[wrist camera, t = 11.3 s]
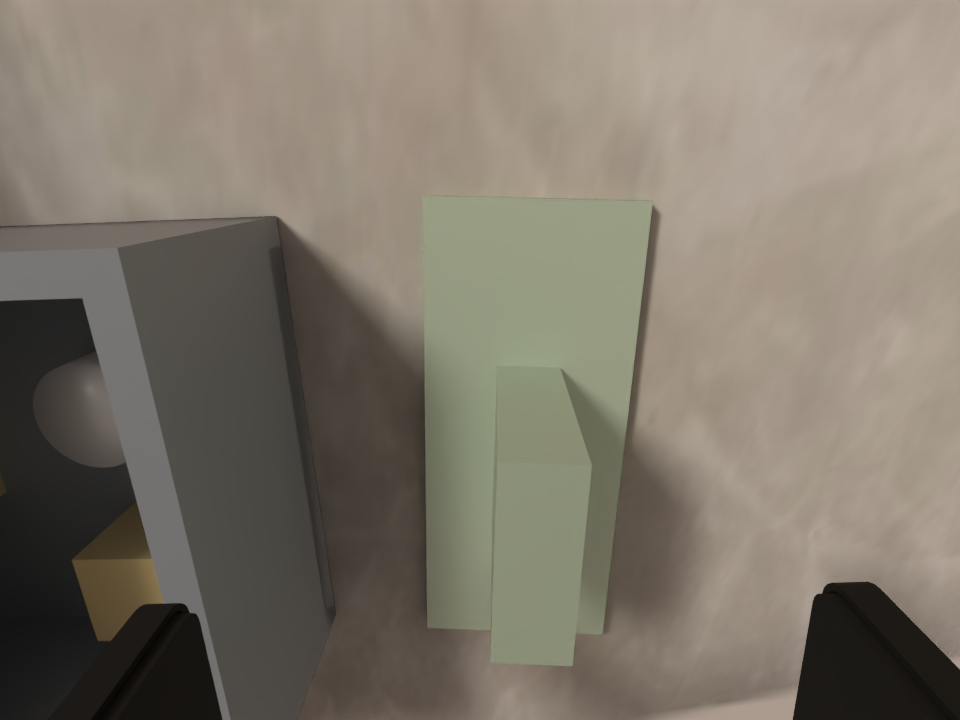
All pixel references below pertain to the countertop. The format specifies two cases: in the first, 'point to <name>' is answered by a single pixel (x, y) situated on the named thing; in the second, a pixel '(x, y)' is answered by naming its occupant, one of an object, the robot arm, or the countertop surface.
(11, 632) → the grey flat box
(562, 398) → the end lid
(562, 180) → the countertop surface
